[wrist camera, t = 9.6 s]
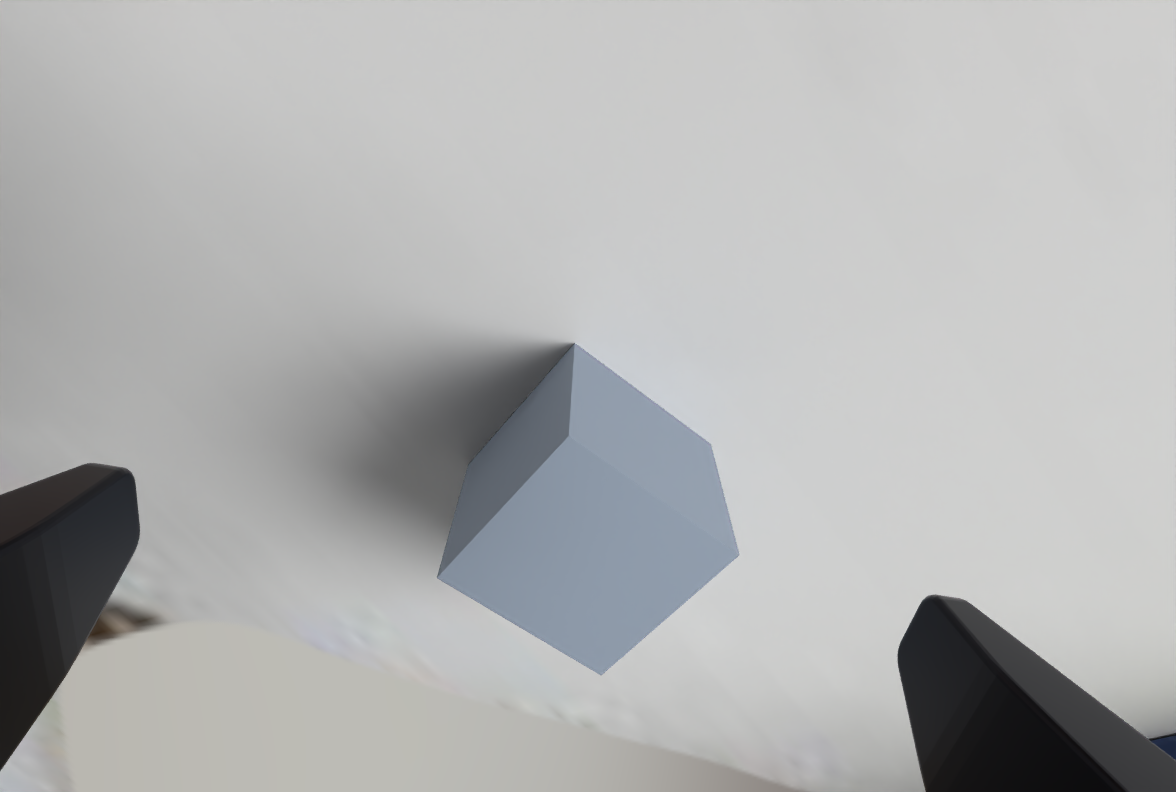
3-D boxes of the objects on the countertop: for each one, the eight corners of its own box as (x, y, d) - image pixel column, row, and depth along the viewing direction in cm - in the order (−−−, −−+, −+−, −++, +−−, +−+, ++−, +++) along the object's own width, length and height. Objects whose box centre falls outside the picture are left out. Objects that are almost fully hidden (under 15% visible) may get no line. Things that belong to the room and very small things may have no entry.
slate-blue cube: (468, 463, 22) (436, 578, 18) (575, 341, 20) (568, 436, 16) (600, 549, 24) (601, 675, 19) (710, 442, 22) (739, 555, 17)
